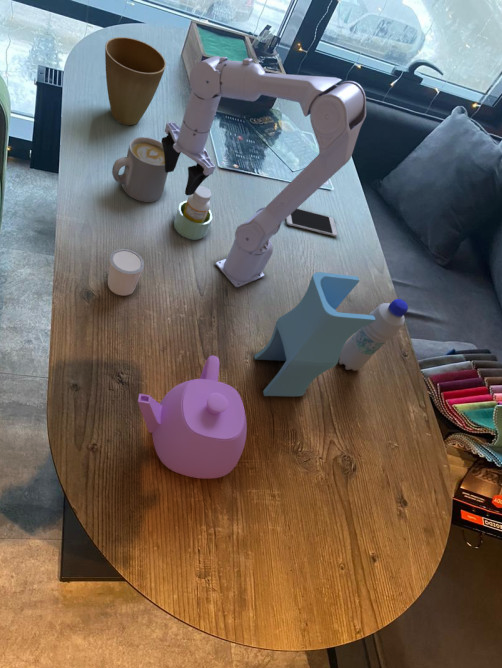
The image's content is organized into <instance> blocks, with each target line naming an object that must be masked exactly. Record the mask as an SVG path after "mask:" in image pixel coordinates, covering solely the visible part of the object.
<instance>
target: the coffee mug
mask: <svg viewBox="0 0 502 668" xmlns="http://www.w3.org/2000/svg"><path fill="white" fill-rule="evenodd" d="M128 144H129V145H128V149H127V154H126V156H123V157H118V159H116V160H115V161H114V163H113V164H112V168H111V169H112V171H111V173H112V177H113V179H114V180H115V181H116V182H117V183H120V184H121V186H122V190H123V191H124V192H125V193H126V194H127V195H128V196H129V197H131V198H132V199H135V200H137V201H140V202H142V203H153V202H154V203H155V202H157V201H159V200H160V199H161V198H162V196H163V192H164V189H165V185H166V182H167V177H168V175H169V172H168V173H166V172H165V156H164V149H163V145H162V142H161V141H160V140H157V139H155V138H151V137H146V136H139V137H135V138H133V139H132V140H131V141H130V142H129V143H128ZM123 167H124V169H123V173H122V174H120V170H121V169H122V168H123Z"/></svg>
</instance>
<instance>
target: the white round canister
mask: <svg viewBox="0 0 502 668" xmlns="http://www.w3.org/2000/svg"><path fill="white" fill-rule="evenodd" d="M144 268H145V261H144V259H143V257H142V256H141V255H140V254H139V253H138V252H136V251H135V250H132V249H129V248H128V249H127V248H118V249H115V250H113V251H112V252H111V253H110V255H109V263H108V273H107V276H108V277H107V286H108V289H109V290H110V291H111V292H112V293H114V294H115V295H118V296H129V295H132V294H133V292H134V291H136V287H137V285H138V283H139V280H140V277H141V275H142V273H143V270H144Z"/></svg>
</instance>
